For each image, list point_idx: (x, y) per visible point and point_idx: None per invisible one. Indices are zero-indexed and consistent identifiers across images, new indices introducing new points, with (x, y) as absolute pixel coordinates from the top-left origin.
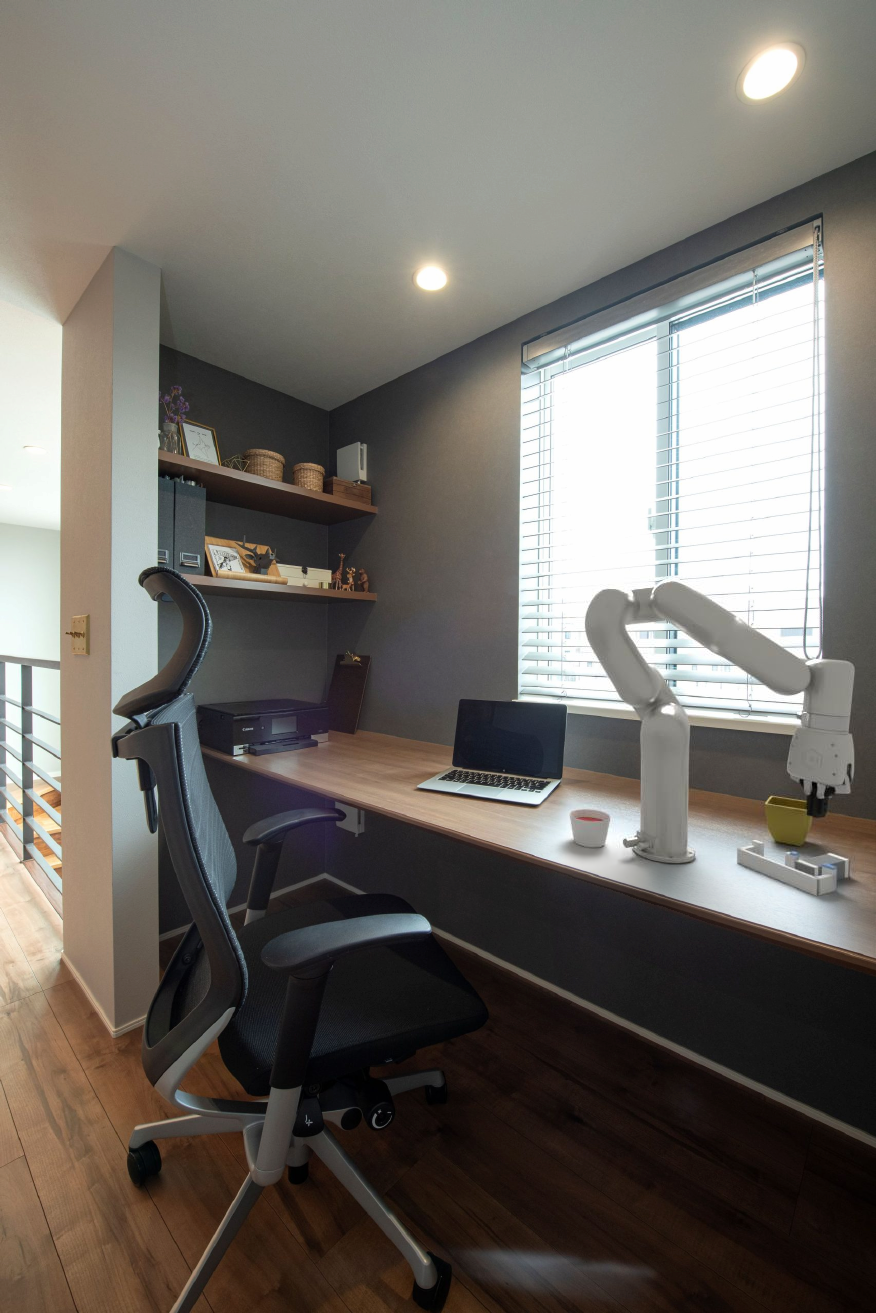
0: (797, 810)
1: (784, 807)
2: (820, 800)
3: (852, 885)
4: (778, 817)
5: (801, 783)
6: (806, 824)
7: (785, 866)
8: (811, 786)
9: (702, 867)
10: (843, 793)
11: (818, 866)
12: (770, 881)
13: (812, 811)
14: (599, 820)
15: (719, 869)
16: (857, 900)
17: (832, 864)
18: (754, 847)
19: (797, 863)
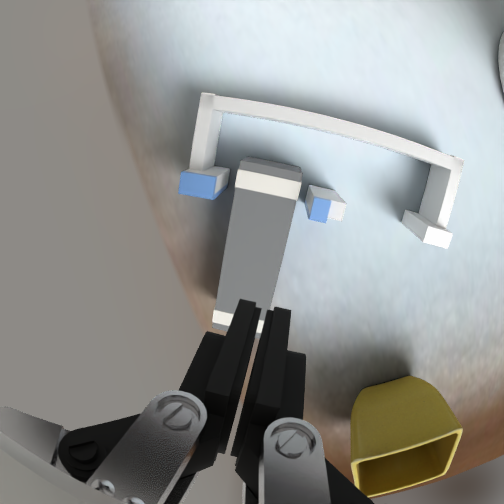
0: (382, 450)
1: (416, 443)
2: (197, 394)
3: (193, 251)
4: (421, 415)
5: (357, 501)
6: (355, 428)
7: (308, 117)
8: (259, 491)
9: (469, 54)
10: (13, 409)
11: (236, 192)
12: (331, 90)
13: (253, 322)
14: None
15: (444, 70)
16: (148, 164)
17: (224, 255)
18: (436, 219)
19: (293, 171)
